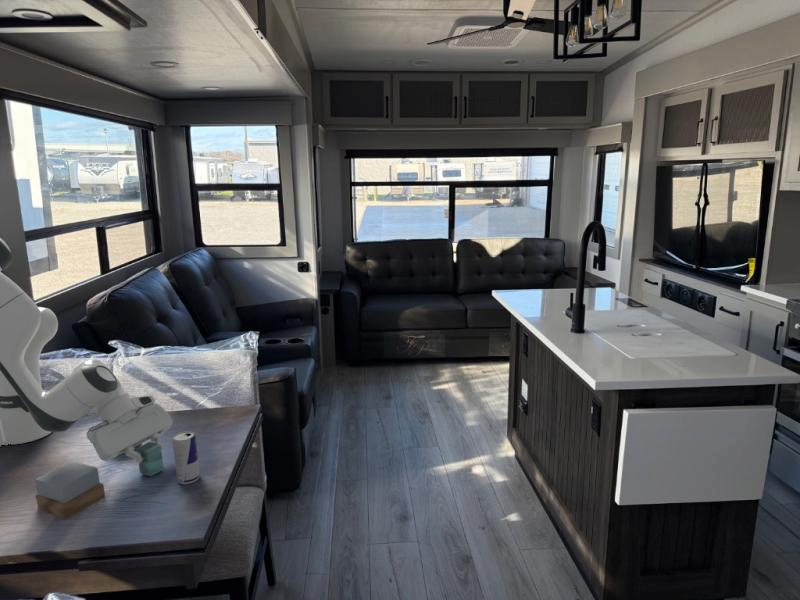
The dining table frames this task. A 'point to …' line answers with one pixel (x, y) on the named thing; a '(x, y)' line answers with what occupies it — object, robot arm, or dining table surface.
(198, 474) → the energy drink
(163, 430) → the robot arm
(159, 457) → the block
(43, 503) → the tower base
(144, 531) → the dining table surface
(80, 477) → the tower top
